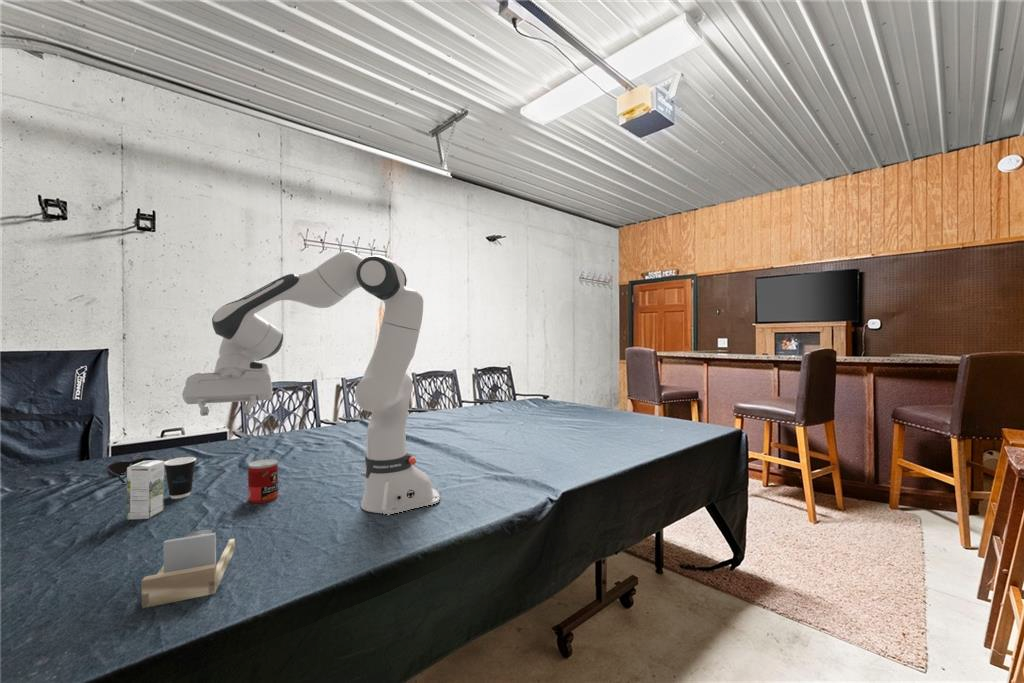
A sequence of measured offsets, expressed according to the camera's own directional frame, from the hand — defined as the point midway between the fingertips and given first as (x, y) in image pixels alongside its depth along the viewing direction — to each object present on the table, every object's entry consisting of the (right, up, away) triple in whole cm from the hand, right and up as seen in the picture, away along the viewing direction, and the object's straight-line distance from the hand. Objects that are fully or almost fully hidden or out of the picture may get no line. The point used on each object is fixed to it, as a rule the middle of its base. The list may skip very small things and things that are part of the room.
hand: (225, 413), depth 110 cm
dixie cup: (-28, -29, +21) cm, 46 cm away
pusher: (+10, -30, -24) cm, 39 cm away
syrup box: (-27, -30, +7) cm, 40 cm away
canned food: (-1, -29, +19) cm, 35 cm away
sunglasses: (-59, -30, +40) cm, 77 cm away
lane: (+9, -30, -23) cm, 38 cm away
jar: (+8, -30, -20) cm, 36 cm away
